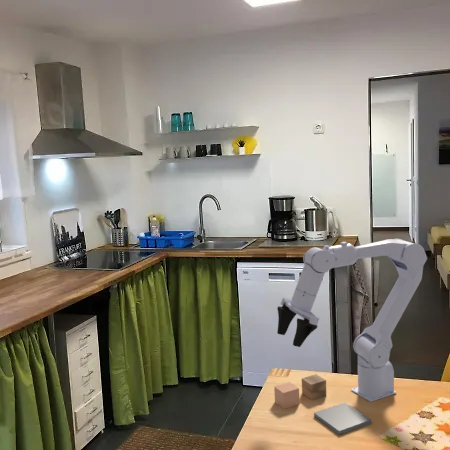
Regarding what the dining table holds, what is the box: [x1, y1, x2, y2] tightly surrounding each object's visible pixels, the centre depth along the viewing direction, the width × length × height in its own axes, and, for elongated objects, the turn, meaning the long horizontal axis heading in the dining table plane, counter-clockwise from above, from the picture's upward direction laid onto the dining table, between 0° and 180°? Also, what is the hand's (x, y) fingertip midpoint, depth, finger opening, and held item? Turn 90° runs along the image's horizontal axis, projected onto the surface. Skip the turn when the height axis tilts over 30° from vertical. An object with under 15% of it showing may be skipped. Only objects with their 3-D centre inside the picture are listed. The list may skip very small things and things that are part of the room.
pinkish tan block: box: [273, 381, 300, 410], centre depth 135 cm, size 5×4×5 cm
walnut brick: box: [301, 373, 327, 401], centre depth 139 cm, size 5×4×5 cm
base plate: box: [313, 402, 372, 436], centre depth 125 cm, size 10×10×1 cm
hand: (288, 340), depth 132 cm, fingers open, 7 cm apart
